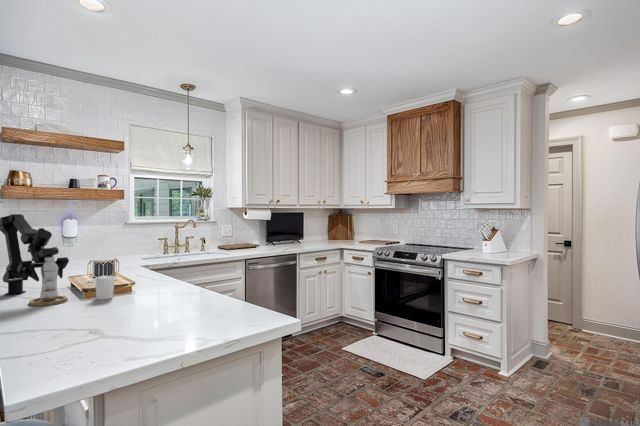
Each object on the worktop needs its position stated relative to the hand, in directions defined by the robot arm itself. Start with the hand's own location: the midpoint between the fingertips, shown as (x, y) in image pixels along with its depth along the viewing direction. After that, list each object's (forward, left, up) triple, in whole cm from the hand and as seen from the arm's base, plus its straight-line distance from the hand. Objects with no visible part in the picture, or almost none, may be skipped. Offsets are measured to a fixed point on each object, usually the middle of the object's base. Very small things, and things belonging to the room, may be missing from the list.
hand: (50, 279), depth 165 cm
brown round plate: (-1, -1, -11) cm, 11 cm away
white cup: (-3, +21, -11) cm, 24 cm away
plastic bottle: (-1, -1, -10) cm, 10 cm away
